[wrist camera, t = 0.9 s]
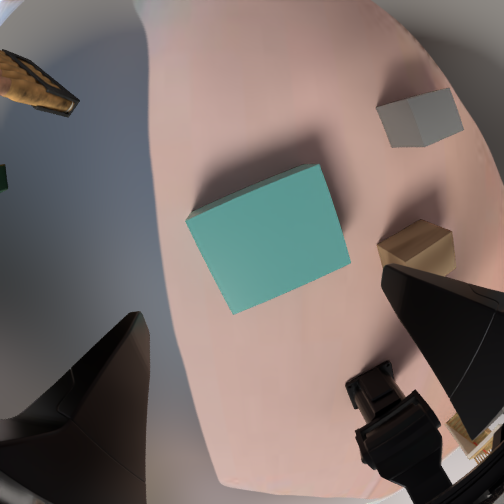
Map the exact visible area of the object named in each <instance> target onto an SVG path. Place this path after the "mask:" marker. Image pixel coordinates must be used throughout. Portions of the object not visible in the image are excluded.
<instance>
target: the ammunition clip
mask: <svg viewBox="0 0 504 504" xmlns="http://www.w3.org/2000/svg"><path fill="white" fill-rule="evenodd" d="M0 95H1V96H3V97H7V98H9V99H11V100H13V101H15V102H20V103H25V104H29V105H31V106H33V107H34V108H35V109H36V110H40V111H44V112H49V113H53V114H56V115H61V116H64V117H69V116H70V115H71V113H72V112H73V110H74V109H75V107H76V106H77V104H78V103H79V102H80V100H79V99H78V98H76V97H75V96H74V95H73V94H71V93H70V92H69V91H68V90H66V89H65V88H64V87H63V86H62V85H60V84H59V83H58V82H57V81H55V80H54V79H53V78H52V77H51V76H49V75H48V74H47V73H45V72H44V71H43V70H42V69H41V68H39V67H38V66H37V65H36V64H34V63H33V62H32V61H31V60H29V59H26V58H24V57H22V56H19V55H17V54H14V53H11V52H9V51H7V50H4V49H2V51H1V50H0Z"/></svg>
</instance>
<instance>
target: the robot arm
mask: <svg viewBox="0 0 504 504" xmlns="http://www.w3.org/2000/svg"><path fill="white" fill-rule="evenodd" d="M381 287H382V290H383V292H384V293H385V295H386V297H387V299H388V300H389V302H390V304H391V306H392V308H393V309H394V311H395V313H396V315H397V316H398V318H399V320H400V321H401V323H402V324H403V326H404V327H405V328H406V330H407V331H408V333H409V334H410V336H411V337H412V339H413V340H414V342H415V343H416V345H417V346H418V348H419V349H420V351H421V353H422V354H423V356H424V357H425V359H426V360H427V362H428V364H429V365H430V367H431V368H432V370H433V372H434V373H435V375H436V377H437V378H438V380H439V382H440V383H441V385H442V387H443V388H444V390H445V392H446V394H447V395H448V397H449V398H450V401H451V403H452V404H453V406H454V408H455V410H456V412H457V414H458V415H459V417H460V419H461V421H462V423H463V425H464V427H465V429H466V431H467V433H468V435H469V437H470V439H471V440H472V441H473V440H474V439H475V438H477V437H478V436H479V435H480V434H481V433H482V432H483V431H485V430H486V429H487V428H488V427H489V426H490V425H491V424H492V423H493V422H494V421H495V420H496V419H497V418H498V417H499V416H500V415H501V414H502V413H503V414H504V292H500V291H495V290H491V289H487V288H484V287H480V286H476V285H473V284H469V283H468V284H467V283H466V282H462V281H458V280H455V279H451V278H448V277H444V276H440V275H437V274H433V273H429V272H426V271H422V270H418V269H415V268H411V267H407V266H403V265H399V264H396V263H391V264H387V265H385V266H384V268H383V273H382V280H381ZM149 380H150V334H149V330H148V327H147V325H146V322H145V319H144V317H143V314H142V313H141V312H140V311H137V312H130V313H128V315H126V316H125V317H124V318H123V319H122V320H121V321H120V322H119V323H118V324H117V325H115V327H113V328H112V329H111V330H110V331H109V332H108V333H107V334H106V335H105V336H104V337H103V338H102V339H100V341H98V342H97V343H96V344H95V345H94V346H93V347H92V348H91V349H90V350H89V351H88V352H87V353H86V354H85V355H84V356H83V357H82V358H81V359H80V360H79V361H77V362H76V363H75V364H74V365H73V366H72V367H71V369H69V370H68V371H67V372H66V373H65V374H64V375H63V376H62V377H61V378H60V379H59V380H58V381H57V382H56V383H55V384H54V385H53V386H52V387H50V388H49V389H48V390H47V391H46V392H45V393H43V394H42V395H41V396H40V397H39V398H38V399H36V400H35V401H34V402H33V403H32V404H31V405H29V406H28V407H27V408H26V409H25V410H24V411H22V412H21V413H20V414H19V415H17V416H15V417H12V418H8V419H0V504H146V484H145V481H146V478H145V455H146V454H145V453H146V452H145V451H146V450H145V449H146V423H147V405H148V392H149ZM345 387H346V390H347V392H348V395H349V397H350V400H351V402H352V405H353V407H354V409H358V408H359V410H360V412H361V414H362V415H363V417H364V419H365V421H366V423H367V424H366V425H365V426H363V427H361V428H360V429H357V430H355V433H356V437H355V438H356V441H357V443H358V445H359V448H360V454H361V461H362V462H363V463H364V464H368V465H369V466H370V467H371V468H372V469H373V470H376V469H377V470H378V472H379V474H380V476H381V477H382V478H384V479H387V480H389V481H391V482H393V483H395V484H398V485H400V486H402V487H405V488H406V490H407V492H408V494H409V495H410V497H411V500H412V501H413V503H414V504H504V423H503V425H502V426H501V427H500V428H499V429H498V430H497V431H496V432H495V433H494V434H493V443H492V451H491V453H490V454H489V455H488V456H487V457H486V458H485V459H484V460H483V461H481V462H480V463H479V464H478V465H477V466H476V467H475V468H473V469H472V470H471V471H470V472H469V473H467V474H466V475H465V476H464V477H462V478H461V479H460V480H459V481H457V482H456V483H455V484H453V485H452V483H451V481H450V480H449V478H448V476H447V475H446V473H445V471H444V469H443V468H442V466H441V462H442V446H443V443H442V436H441V434H440V432H439V431H438V429H437V428H439V427H440V426H441V423H440V421H439V420H438V418H437V416H436V415H435V413H434V412H433V410H432V409H431V408H430V406H429V405H428V404H427V403H426V401H425V400H424V399H423V398H422V397H421V395H420V394H419V393H418V392H417V391H416V389H415V390H414V391H412V393H411V394H410V395H408V396H407V397H405V395H404V394H403V392H402V391H401V390H400V388H399V387H398V385H397V384H396V383H395V381H394V377H393V371H392V365H391V362H390V361H386V362H384V363H382V364H381V365H379V366H377V367H376V368H374V369H372V370H370V371H369V372H367V373H365V374H363V375H361V376H360V377H358V378H356V379H354V380H352V381H350V382H348V383H347V384H346V385H345Z"/></svg>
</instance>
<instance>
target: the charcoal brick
mask: <svg viewBox="0 0 504 504" xmlns="http://www.w3.org/2000/svg"><path fill="white" fill-rule="evenodd" d="M376 110H377V112H378V114H379V117H380V119H381V121H382V124H383V126H384V129H385V131H386V134H387V136H388V139H389V142H390V144H391V147H392V148H394V147H426V146H428V145H431V144H433V143H435V142H437V141H440V140H442V139H444V138H447V137H449V136H451V135H454V134H456V133H458V132H460V131H463V130H464V128H463V125H462V122H461V119H460V116H459V113H458V110H457V107H456V104H455V101H454V99H453V96H452V93H451V91H450V88H446V89H441V90H437V91H432V92H428V93H424V94H419V95H416V96H412V97H409V98H405V99H402V100H398V101H395V102H392V103H389V104H386V105H382V106H379V107H376Z"/></svg>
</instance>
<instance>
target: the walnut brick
mask: <svg viewBox="0 0 504 504" xmlns="http://www.w3.org/2000/svg"><path fill="white" fill-rule="evenodd" d="M377 248H378V252H379V255H380V259H381V263H382V267H383V268H384V266H385V265H387V264H391V263H396V264H399V265H403V266H407V267H411V268H415V269H418V270H422V271H426V272H429V273H433V274H437V275H440V276H444V277H445V276H446V275H447V274H449V273H450V272H451V271H453V270H454V269H455V268H456V263H455V252H454V243H453V235H452V231H450V230H447V229H445V228H442V227H440V226H437V225H435V224H432V223H429V222H426V221H424V220H421V219H420V220H419V221H417V222H415V223H414V224H412V225H410V226H408V227H407V228H405V229H403V230H402V231H400V232H398V233H396V234H395V235H393V236H391V237H390V238H388V239H386V240H384V241H383V242H381V243H379V244H377Z"/></svg>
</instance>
